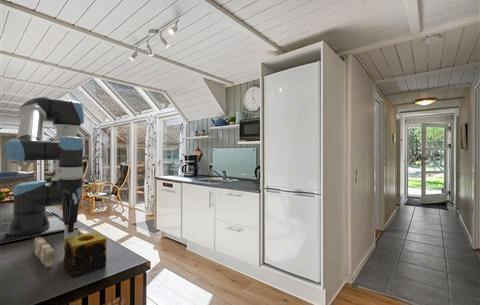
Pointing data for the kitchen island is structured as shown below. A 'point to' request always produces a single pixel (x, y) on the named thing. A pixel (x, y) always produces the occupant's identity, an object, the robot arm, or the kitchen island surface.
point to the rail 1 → (44, 252)
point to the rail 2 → (81, 232)
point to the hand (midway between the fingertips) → (69, 240)
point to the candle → (84, 254)
